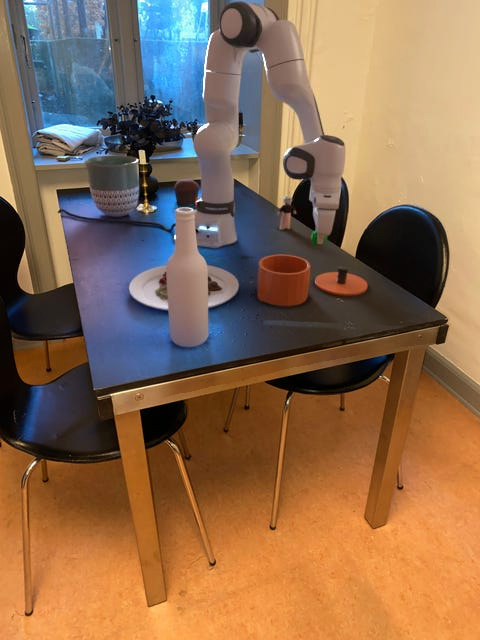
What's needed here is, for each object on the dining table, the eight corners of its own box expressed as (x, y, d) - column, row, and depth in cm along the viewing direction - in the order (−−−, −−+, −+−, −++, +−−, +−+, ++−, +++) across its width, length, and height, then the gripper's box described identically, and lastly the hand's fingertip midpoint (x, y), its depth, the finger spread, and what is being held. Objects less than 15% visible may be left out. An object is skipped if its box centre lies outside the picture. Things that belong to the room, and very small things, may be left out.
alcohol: (212, 345, 105) (211, 214, 90) (173, 350, 102) (166, 217, 88) (203, 326, 112) (201, 202, 97) (167, 331, 110) (159, 205, 95)
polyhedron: (327, 243, 146) (329, 228, 144) (325, 248, 142) (327, 233, 140) (311, 241, 147) (313, 226, 145) (308, 246, 143) (310, 231, 141)
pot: (256, 306, 122) (258, 273, 117) (257, 284, 134) (259, 253, 129) (308, 308, 121) (312, 275, 117) (305, 286, 133) (308, 255, 128)
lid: (317, 296, 128) (319, 277, 125) (312, 275, 140) (314, 256, 138) (371, 299, 127) (374, 279, 124) (362, 277, 140) (364, 259, 137)
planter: (117, 225, 177) (111, 167, 167) (81, 216, 186) (73, 161, 175) (152, 213, 192) (148, 159, 181) (117, 205, 201) (111, 153, 190)
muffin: (169, 204, 204) (168, 181, 199) (179, 198, 213) (178, 176, 208) (194, 207, 201) (194, 183, 196) (204, 200, 210) (203, 178, 205)
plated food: (195, 328, 111) (195, 315, 110) (105, 296, 125) (104, 285, 123) (258, 284, 134) (259, 273, 132) (176, 261, 147) (176, 251, 146)
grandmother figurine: (280, 231, 176) (282, 197, 169) (274, 228, 179) (276, 195, 172) (297, 228, 179) (299, 195, 173) (291, 225, 182) (294, 193, 176)
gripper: (311, 186, 146) (306, 228, 153) (316, 203, 128) (311, 251, 135) (331, 187, 146) (325, 229, 153) (339, 205, 128) (332, 252, 135)
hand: (318, 239), depth 144 cm, fingers closed on polyhedron, 5 cm apart
